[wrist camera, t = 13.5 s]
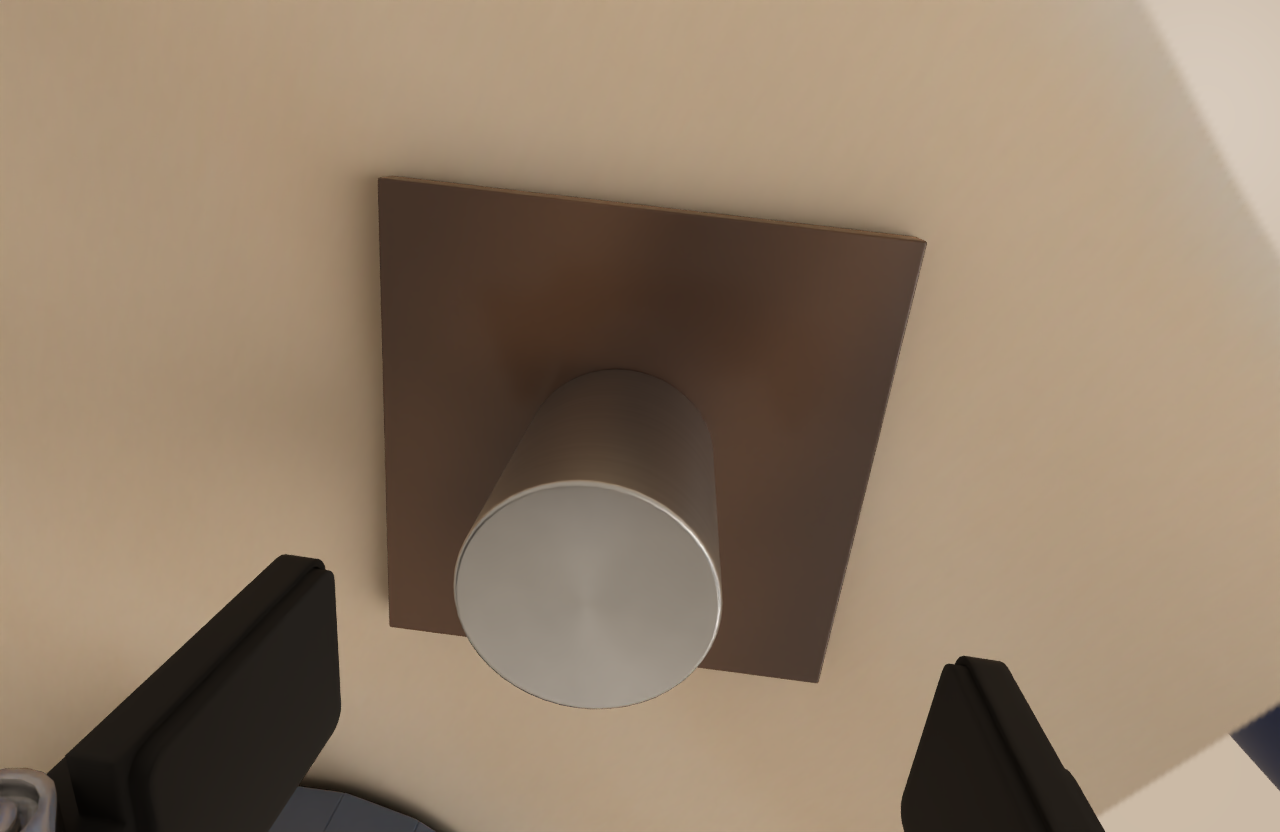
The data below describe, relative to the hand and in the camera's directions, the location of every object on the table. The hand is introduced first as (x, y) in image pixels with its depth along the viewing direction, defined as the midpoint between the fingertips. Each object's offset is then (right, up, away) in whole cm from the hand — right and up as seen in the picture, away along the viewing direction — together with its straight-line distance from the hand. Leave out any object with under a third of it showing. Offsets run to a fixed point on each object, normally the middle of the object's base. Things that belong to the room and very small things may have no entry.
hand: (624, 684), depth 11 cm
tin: (0, +3, +7) cm, 7 cm away
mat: (0, +3, +8) cm, 8 cm away
